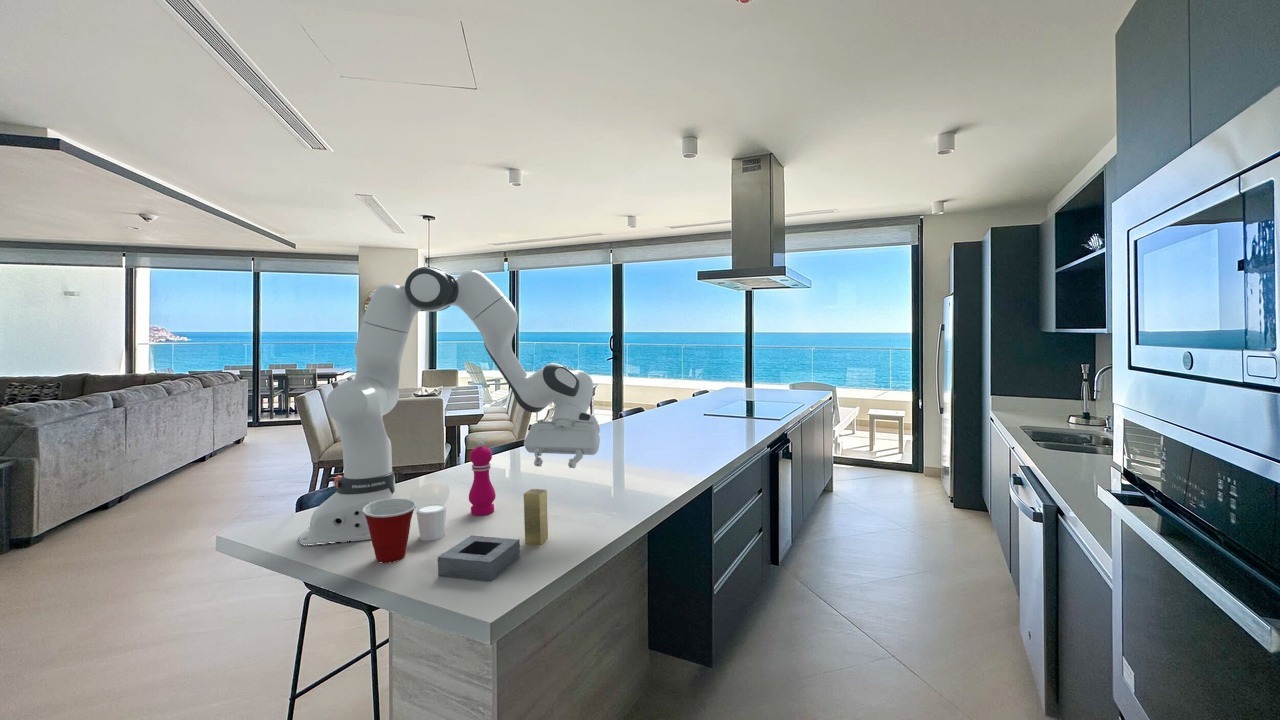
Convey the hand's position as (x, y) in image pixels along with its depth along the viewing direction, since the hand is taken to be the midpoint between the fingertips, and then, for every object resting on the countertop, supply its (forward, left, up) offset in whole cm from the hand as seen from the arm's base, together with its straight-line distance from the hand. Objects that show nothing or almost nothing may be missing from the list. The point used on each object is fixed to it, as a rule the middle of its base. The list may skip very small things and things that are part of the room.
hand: (554, 466), depth 134 cm
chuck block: (-21, -17, -15) cm, 31 cm away
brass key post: (-7, -9, -15) cm, 19 cm away
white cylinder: (-29, +7, -16) cm, 34 cm away
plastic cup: (-38, -3, -16) cm, 41 cm away
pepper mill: (-15, +20, -16) cm, 30 cm away
